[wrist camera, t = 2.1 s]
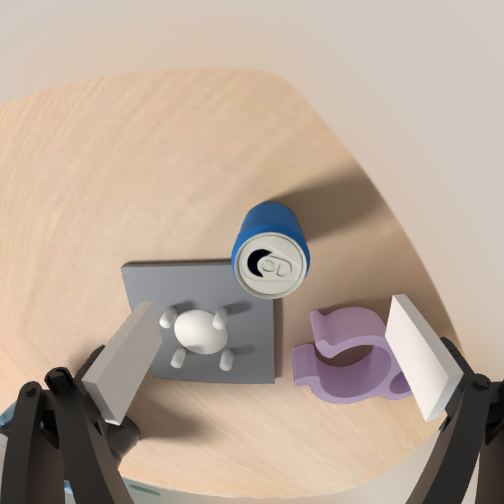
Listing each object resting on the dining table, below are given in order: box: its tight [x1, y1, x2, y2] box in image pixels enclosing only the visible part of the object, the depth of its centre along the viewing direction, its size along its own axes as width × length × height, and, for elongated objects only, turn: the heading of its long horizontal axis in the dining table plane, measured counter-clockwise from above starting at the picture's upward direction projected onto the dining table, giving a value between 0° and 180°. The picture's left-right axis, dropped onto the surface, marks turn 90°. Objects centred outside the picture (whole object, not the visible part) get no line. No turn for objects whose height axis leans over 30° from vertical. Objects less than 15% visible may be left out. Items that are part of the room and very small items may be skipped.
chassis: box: [121, 261, 275, 384], centre depth 37 cm, size 20×20×4 cm
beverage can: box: [231, 202, 310, 299], centre depth 28 cm, size 6×6×12 cm
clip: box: [292, 307, 413, 404], centre depth 35 cm, size 20×12×7 cm, turn 73°
